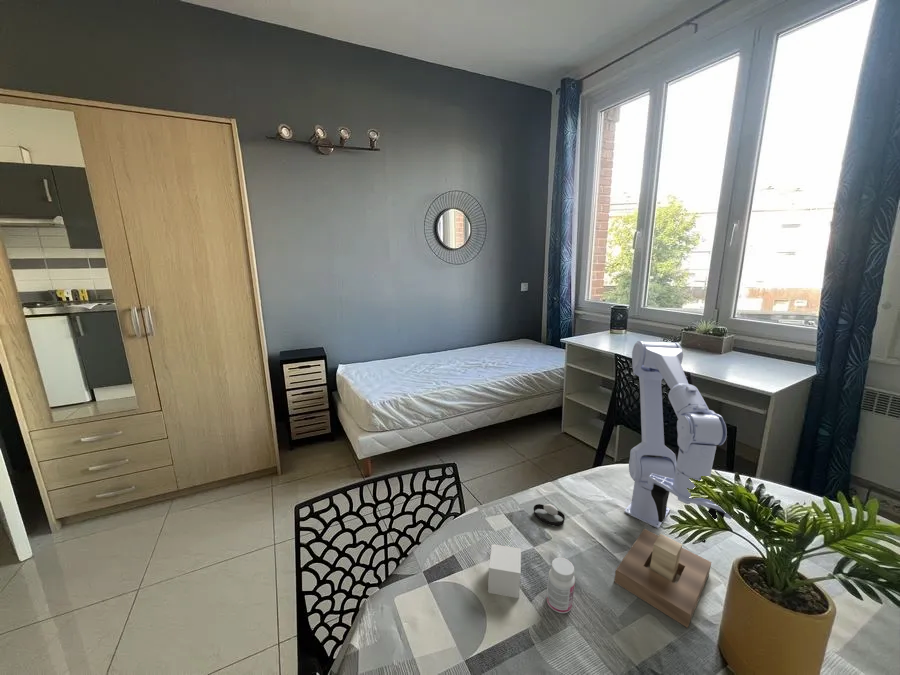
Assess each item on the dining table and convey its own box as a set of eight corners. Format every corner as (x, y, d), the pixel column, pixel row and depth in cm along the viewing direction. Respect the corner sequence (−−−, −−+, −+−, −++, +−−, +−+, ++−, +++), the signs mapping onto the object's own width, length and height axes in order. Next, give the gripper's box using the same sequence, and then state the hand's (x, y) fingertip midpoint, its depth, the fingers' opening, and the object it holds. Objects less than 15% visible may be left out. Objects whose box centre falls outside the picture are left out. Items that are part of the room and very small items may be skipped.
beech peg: (654, 565, 79) (660, 533, 77) (676, 577, 76) (682, 544, 74) (648, 576, 76) (653, 544, 74) (670, 589, 73) (676, 555, 71)
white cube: (490, 567, 78) (491, 543, 77) (519, 572, 77) (521, 548, 76) (487, 593, 72) (488, 567, 71) (519, 598, 71) (520, 573, 70)
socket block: (642, 539, 86) (644, 528, 85) (708, 574, 77) (711, 562, 76) (614, 581, 75) (615, 569, 74) (687, 628, 66) (690, 614, 65)
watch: (566, 520, 92) (567, 507, 91) (561, 532, 88) (562, 519, 87) (536, 508, 96) (537, 496, 95) (530, 519, 92) (531, 507, 91)
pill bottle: (573, 616, 68) (577, 579, 66) (546, 611, 69) (550, 574, 67) (570, 593, 72) (574, 557, 70) (545, 589, 73) (548, 553, 71)
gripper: (646, 463, 75) (637, 520, 79) (734, 497, 65) (720, 561, 69) (657, 450, 80) (649, 504, 83) (741, 480, 70) (727, 540, 73)
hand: (681, 529), depth 76 cm, fingers open, 7 cm apart
